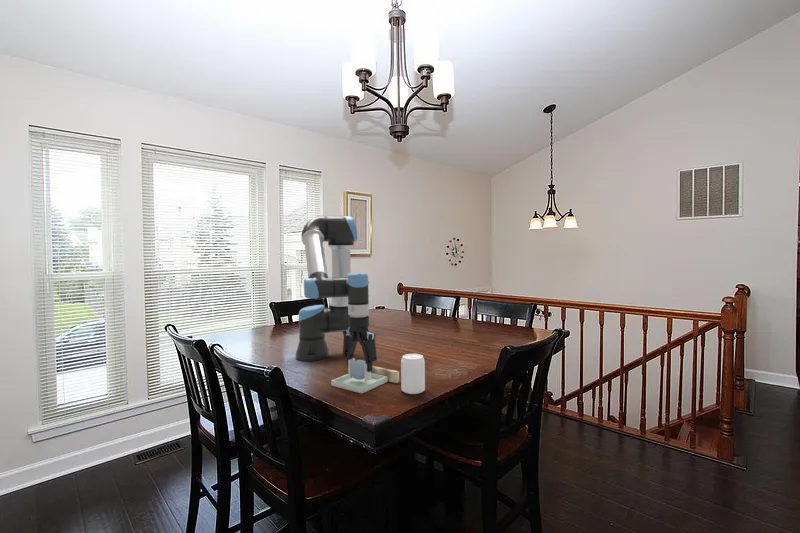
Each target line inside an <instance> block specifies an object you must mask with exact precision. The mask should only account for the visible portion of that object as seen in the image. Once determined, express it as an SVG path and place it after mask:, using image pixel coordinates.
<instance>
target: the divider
mask: <svg viewBox="0 0 800 533" xmlns="http://www.w3.org/2000/svg"><path fill="white" fill-rule="evenodd" d="M347 373H349V368H348V367H347ZM371 373H374V374H379V375H383V376H388V382H390V383H394V384H398V383H400V370H399V371H398V370H395V369H390V368H385V367H380V366H374V365H372V371H371Z"/></svg>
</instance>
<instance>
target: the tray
mask: <svg viewBox="0 0 800 533" xmlns="http://www.w3.org/2000/svg"><path fill="white" fill-rule="evenodd" d="M388 382H389V381H388V376H383V375H379V374H374V373H371V380H369V381H365V378H364V379H361V380H357V379H355V378H353V377H351V378H349V373H346V374H344V375H342V376H339V377H337V378H334V379H333V378H332V379H331V381H330V386H331V387H334V388H339V389H343V390H345V391H350V392H354V393H357V394H361V395H362V394H363V395H364V393H367V392H369V391H370V390H373V389H375V388H378V387H380V386H381V385H384V384H385V383H388Z"/></svg>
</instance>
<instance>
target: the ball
mask: <svg viewBox="0 0 800 533" xmlns="http://www.w3.org/2000/svg"><path fill="white" fill-rule="evenodd" d="M365 362H366V360H363V359H355V361H354V362H353V363H352V365H351V367H350V373H351V375H352V377H353V378H355V379H357V380H361V379H364V378H365V376H364V363H365Z"/></svg>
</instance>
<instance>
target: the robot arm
mask: <svg viewBox="0 0 800 533" xmlns="http://www.w3.org/2000/svg"><path fill="white" fill-rule="evenodd" d="M301 230H302V231H301V235H300V236H301V242H302V244H303V246H304V249H305V251H304V252H305V259H306V268H307V271H306V272H307V278H305V279H304V280H303V296H304V297H305V298H306V299H315V300H317V299H327V298H329V299H330V298H332V300H331V301H330V302H329V303H328V304H329V305H328V307H325V305H324V304H314V305H309V306H306V307H305V306H304V307H303V308H301V309H300V310H299V311H298V320H297V321H298V338H299V339H298V344H297V350H296V351H295V359H296V360H298V361H303V362H304V361H305V362H306V361H307V362H309V361H310V362H314V361H319V360H325V359H327V358H329V357H330V350H329V346H328V344H327V340H326V334H332V333H342V335H343V342H342V357H343V358H346V360H347V363H346V364H347V369H348V368H349V372H348V374H349V378H351V377H352V375H351V373H350V367H351V365H352V363H353V362H354V361H356V358H355V356H354V355H355V352H356V348H357V344H358V342H359V345H360V347H361V349H362V352H363V356H364V361H365V363H364V376H365V381H369V380H371V371H372V366H373V362H377V361H378V357H377V349H376V347H377V346H376V333H375V332H372V333H371V332H370V331H369V326H370V316H369V314H370V306H369V305H370V304H369V303H370V301H369V296H370V295H369V284H370V282H369V275H368V273H366V272H353V273H352V272H351V271H352V270H351V250H352V248H353V247H354V245H355V243H356V242H357V241H358V229H357V224H356V221H355V218H353V216H347V215H317V216H315V217H312V218H311V219H309V220H308V222H306V223H305V225H304V226H303V229H301ZM324 242H327V245H328V247H329V248H330V249H331V277H329V274H328V269H327V262H326V256H325V249H324Z"/></svg>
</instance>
